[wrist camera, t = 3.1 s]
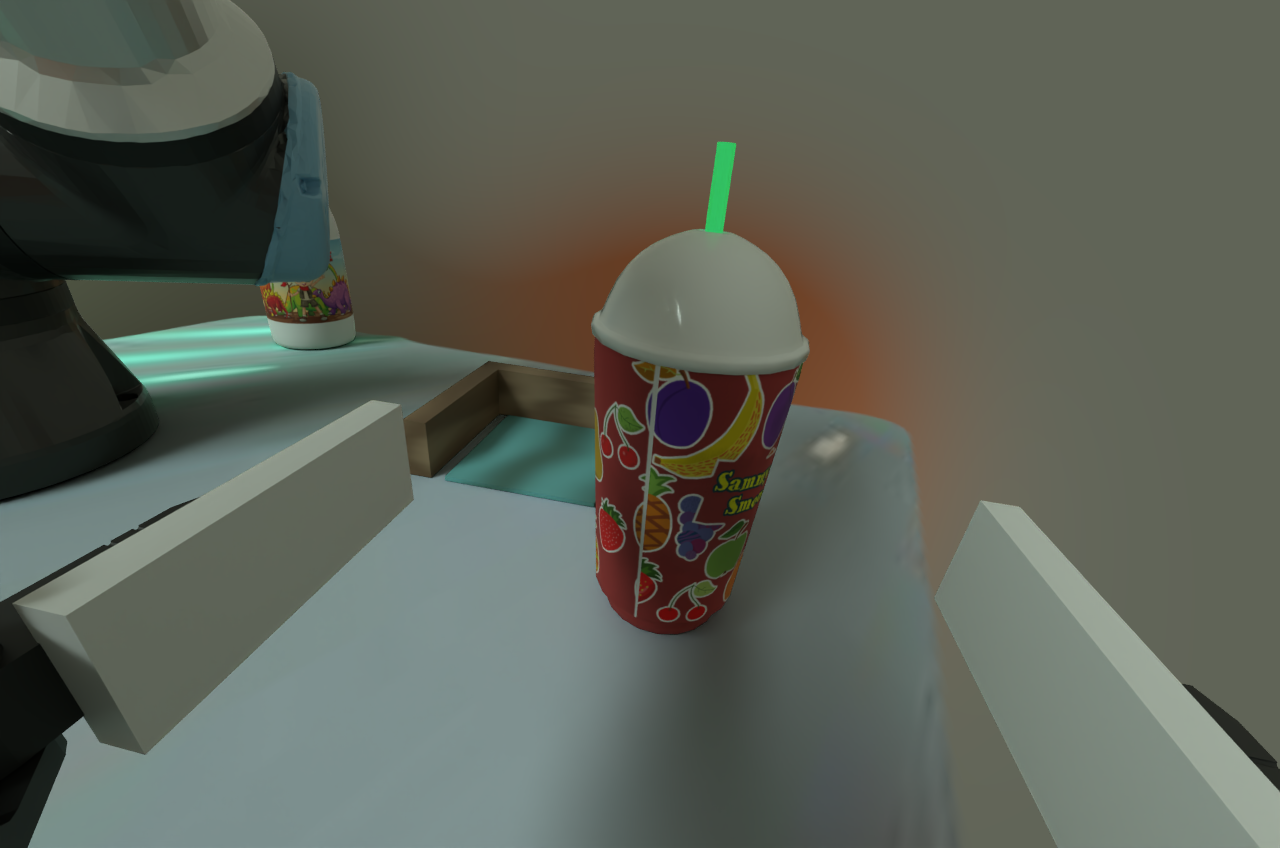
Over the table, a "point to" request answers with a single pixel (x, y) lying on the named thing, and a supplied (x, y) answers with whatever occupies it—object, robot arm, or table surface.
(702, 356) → the smoothie
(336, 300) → the milk bottle
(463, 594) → the table surface
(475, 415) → the holder
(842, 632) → the table surface
